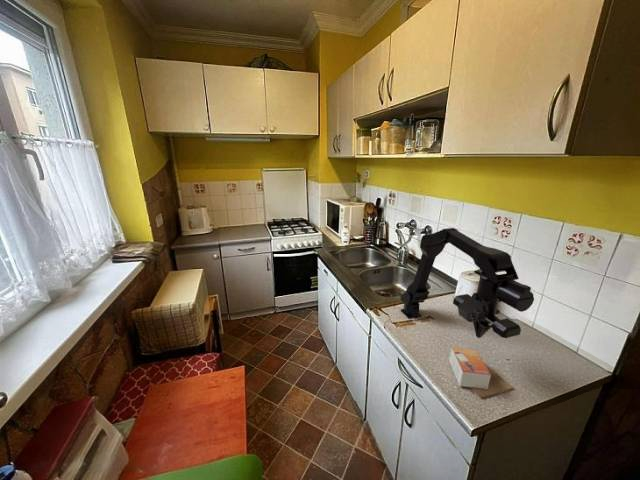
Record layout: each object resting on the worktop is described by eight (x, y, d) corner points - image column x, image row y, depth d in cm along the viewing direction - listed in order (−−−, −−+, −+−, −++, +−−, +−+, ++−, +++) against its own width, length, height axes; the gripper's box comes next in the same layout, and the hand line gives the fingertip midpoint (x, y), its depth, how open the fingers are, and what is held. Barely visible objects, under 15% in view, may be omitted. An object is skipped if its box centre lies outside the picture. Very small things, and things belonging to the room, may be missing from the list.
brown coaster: (454, 372, 83) (455, 370, 83) (484, 364, 86) (484, 362, 86) (481, 399, 74) (481, 397, 74) (512, 388, 77) (513, 387, 77)
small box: (476, 349, 84) (492, 375, 74) (473, 363, 86) (488, 390, 76) (450, 347, 86) (462, 371, 76) (448, 360, 87) (459, 386, 77)
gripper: (442, 282, 82) (436, 324, 87) (495, 315, 65) (483, 364, 70) (470, 277, 85) (462, 318, 90) (528, 308, 68) (515, 356, 73)
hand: (478, 337), depth 80 cm, fingers closed
